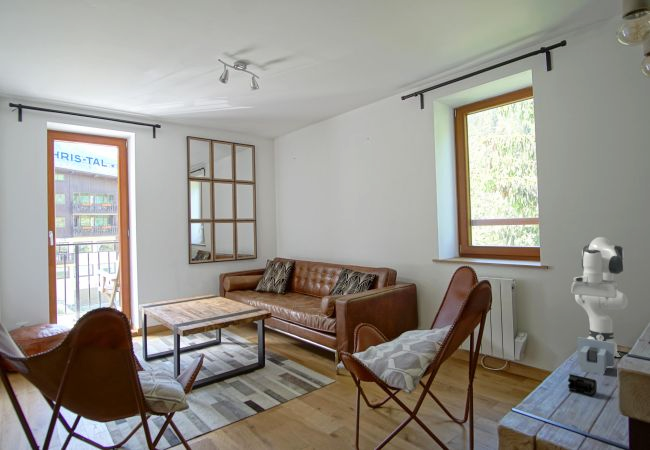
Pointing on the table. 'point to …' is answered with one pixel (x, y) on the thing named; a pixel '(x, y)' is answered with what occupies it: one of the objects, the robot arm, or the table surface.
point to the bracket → (593, 354)
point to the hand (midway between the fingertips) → (593, 304)
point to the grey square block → (603, 356)
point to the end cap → (582, 385)
